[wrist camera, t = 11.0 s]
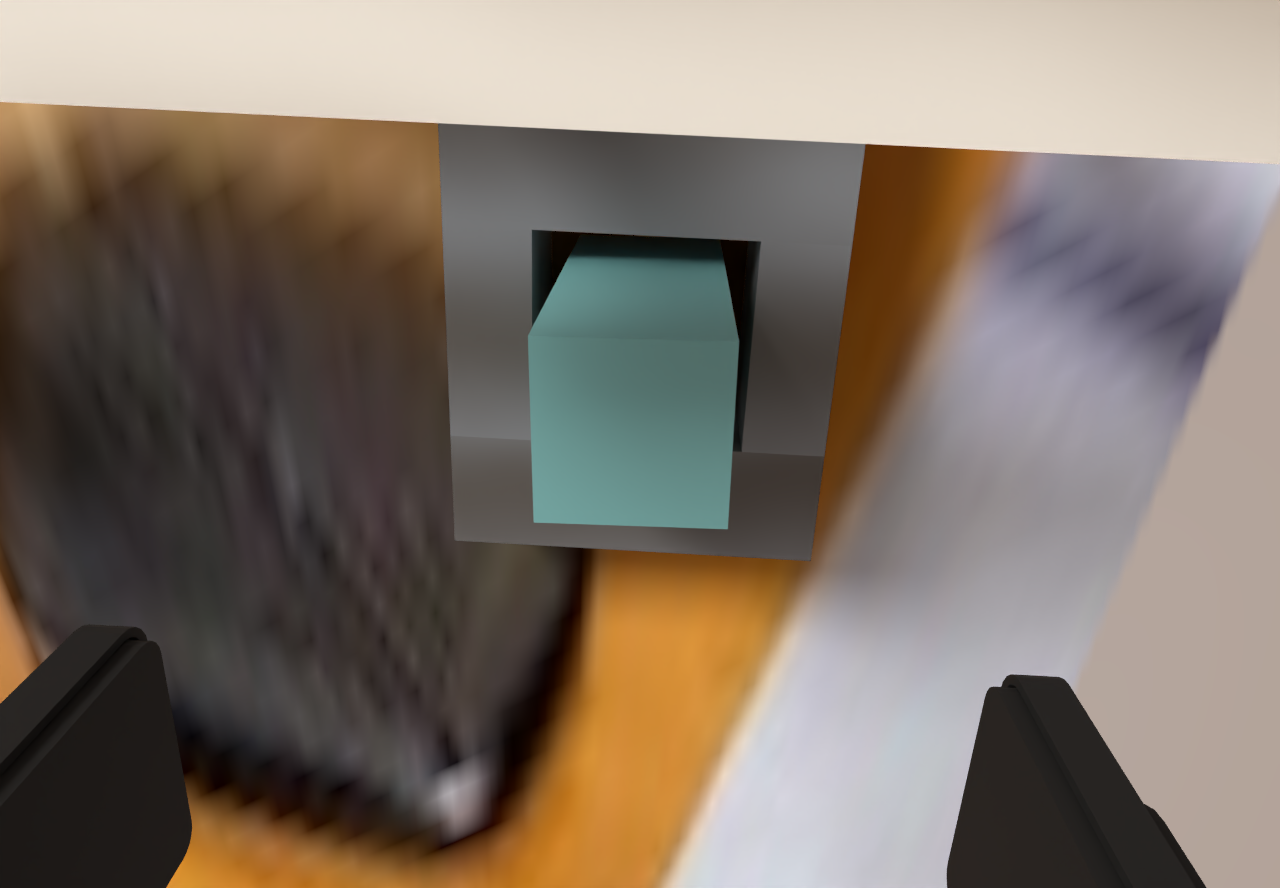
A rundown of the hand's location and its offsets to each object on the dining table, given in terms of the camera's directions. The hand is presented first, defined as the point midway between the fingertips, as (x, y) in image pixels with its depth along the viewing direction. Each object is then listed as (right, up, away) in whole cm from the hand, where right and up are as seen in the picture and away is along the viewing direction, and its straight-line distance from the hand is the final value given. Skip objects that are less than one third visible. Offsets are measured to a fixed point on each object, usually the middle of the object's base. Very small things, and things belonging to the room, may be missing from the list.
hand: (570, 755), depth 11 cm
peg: (+1, +8, +17) cm, 19 cm away
